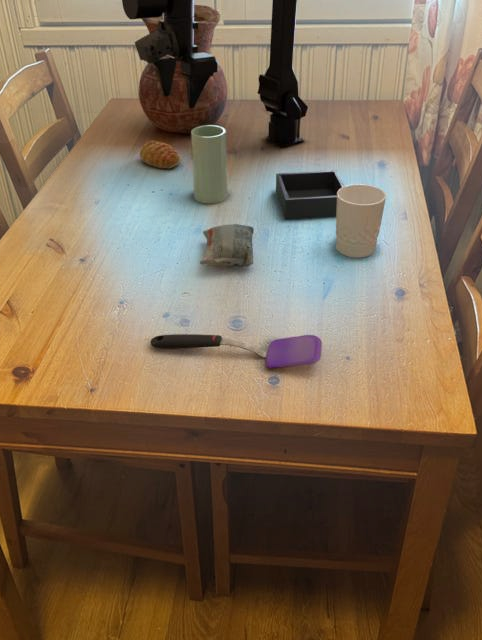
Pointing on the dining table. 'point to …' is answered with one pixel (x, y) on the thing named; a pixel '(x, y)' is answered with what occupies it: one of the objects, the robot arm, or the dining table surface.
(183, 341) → the spatula
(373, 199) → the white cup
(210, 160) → the tumbler
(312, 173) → the tub
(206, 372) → the dining table surface
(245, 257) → the packaged food
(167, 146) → the pastry
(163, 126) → the jug
